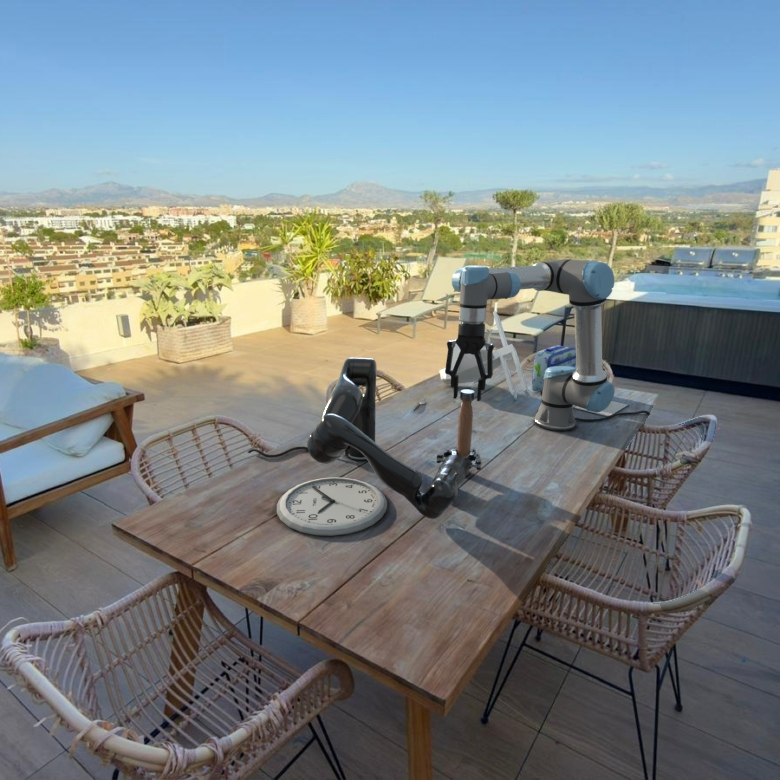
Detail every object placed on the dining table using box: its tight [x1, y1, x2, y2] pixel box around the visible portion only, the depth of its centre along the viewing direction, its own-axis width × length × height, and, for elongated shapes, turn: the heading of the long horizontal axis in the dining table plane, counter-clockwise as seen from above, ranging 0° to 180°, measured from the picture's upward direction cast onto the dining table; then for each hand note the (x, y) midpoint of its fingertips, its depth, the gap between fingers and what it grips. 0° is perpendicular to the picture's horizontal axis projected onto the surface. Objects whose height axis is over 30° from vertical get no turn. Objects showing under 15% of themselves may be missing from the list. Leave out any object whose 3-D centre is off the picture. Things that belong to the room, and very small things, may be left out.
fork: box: [413, 396, 428, 412], centre depth 222 cm, size 3×16×2 cm, turn 160°
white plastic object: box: [438, 310, 531, 400], centre depth 245 cm, size 37×45×31 cm
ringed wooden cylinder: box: [456, 400, 474, 476], centre depth 159 cm, size 4×4×26 cm
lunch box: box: [531, 345, 576, 394], centre depth 245 cm, size 26×11×21 cm, turn 134°
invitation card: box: [573, 400, 629, 417], centre depth 226 cm, size 21×1×15 cm
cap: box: [459, 389, 475, 402], centre depth 155 cm, size 4×4×2 cm
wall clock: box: [276, 476, 388, 537], centre depth 142 cm, size 30×2×30 cm
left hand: (465, 449), depth 163 cm, fingers closed on ringed wooden cylinder, 4 cm apart
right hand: (467, 398), depth 156 cm, fingers open, 6 cm apart
